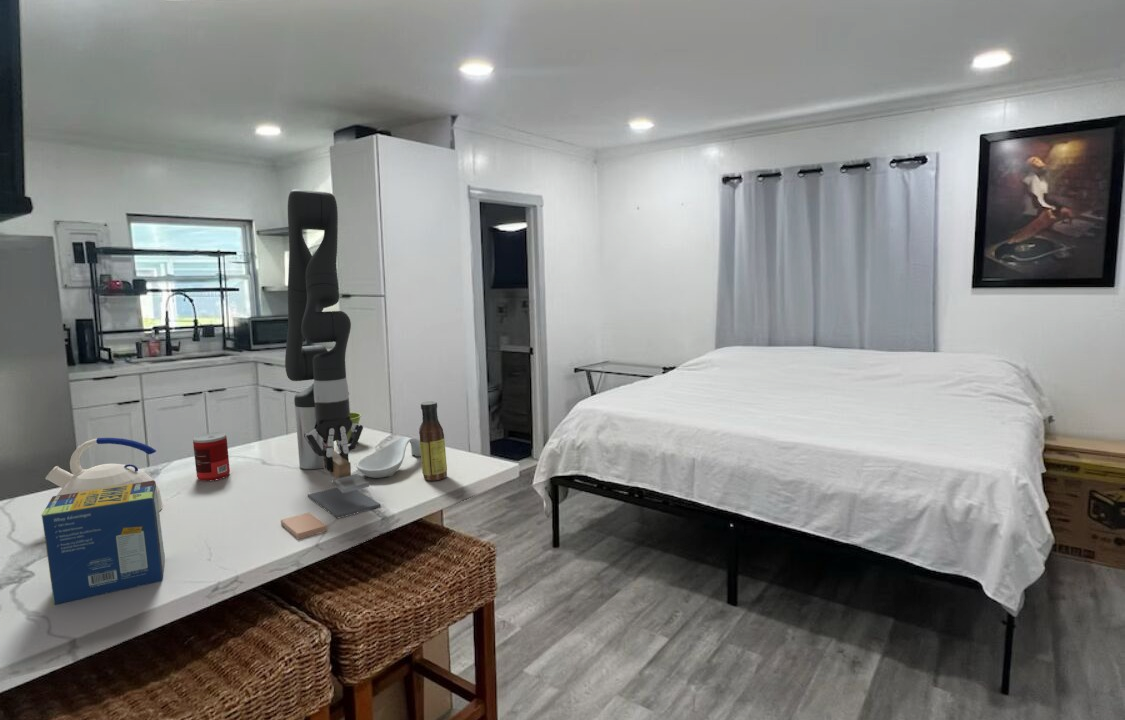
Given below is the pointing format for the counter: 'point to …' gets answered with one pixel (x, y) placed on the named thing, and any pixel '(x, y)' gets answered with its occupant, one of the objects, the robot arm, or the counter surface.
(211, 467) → the canned food
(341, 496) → the mat
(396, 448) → the spoon rest
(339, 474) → the tall tan post
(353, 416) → the plant pot
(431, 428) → the sauce bottle
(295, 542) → the counter surface
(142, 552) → the protein box
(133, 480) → the kettle
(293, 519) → the tile
